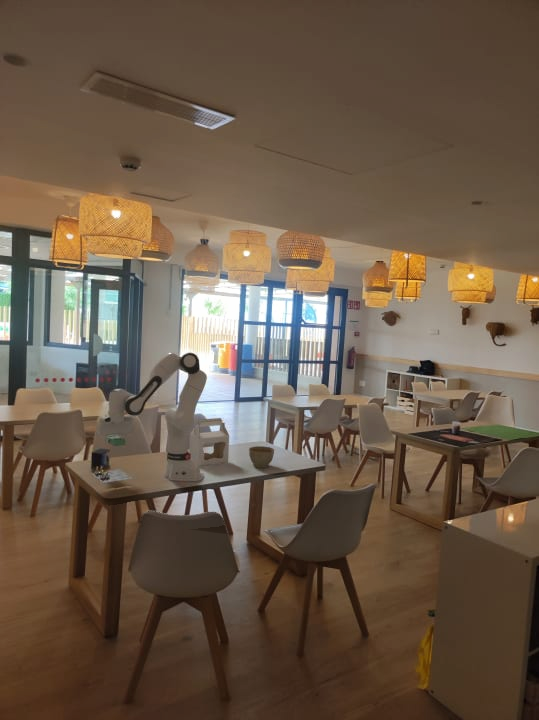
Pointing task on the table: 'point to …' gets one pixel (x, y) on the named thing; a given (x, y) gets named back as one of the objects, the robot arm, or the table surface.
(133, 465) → the table surface
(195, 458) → the gable box
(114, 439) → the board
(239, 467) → the table surface
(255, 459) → the planter bowl
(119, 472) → the chassis
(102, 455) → the small box
